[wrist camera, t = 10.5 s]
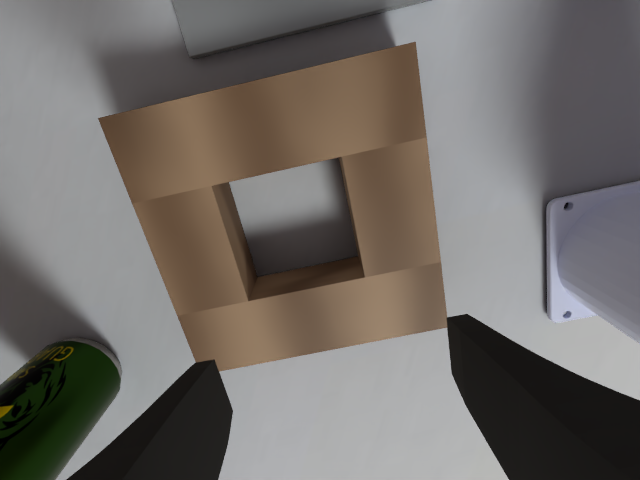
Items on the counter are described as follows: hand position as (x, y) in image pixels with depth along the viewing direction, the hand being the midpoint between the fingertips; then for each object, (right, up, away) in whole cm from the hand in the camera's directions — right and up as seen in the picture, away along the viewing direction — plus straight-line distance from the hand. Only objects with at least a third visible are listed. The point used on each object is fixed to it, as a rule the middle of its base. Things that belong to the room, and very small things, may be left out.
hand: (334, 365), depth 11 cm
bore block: (-2, +5, +9) cm, 11 cm away
